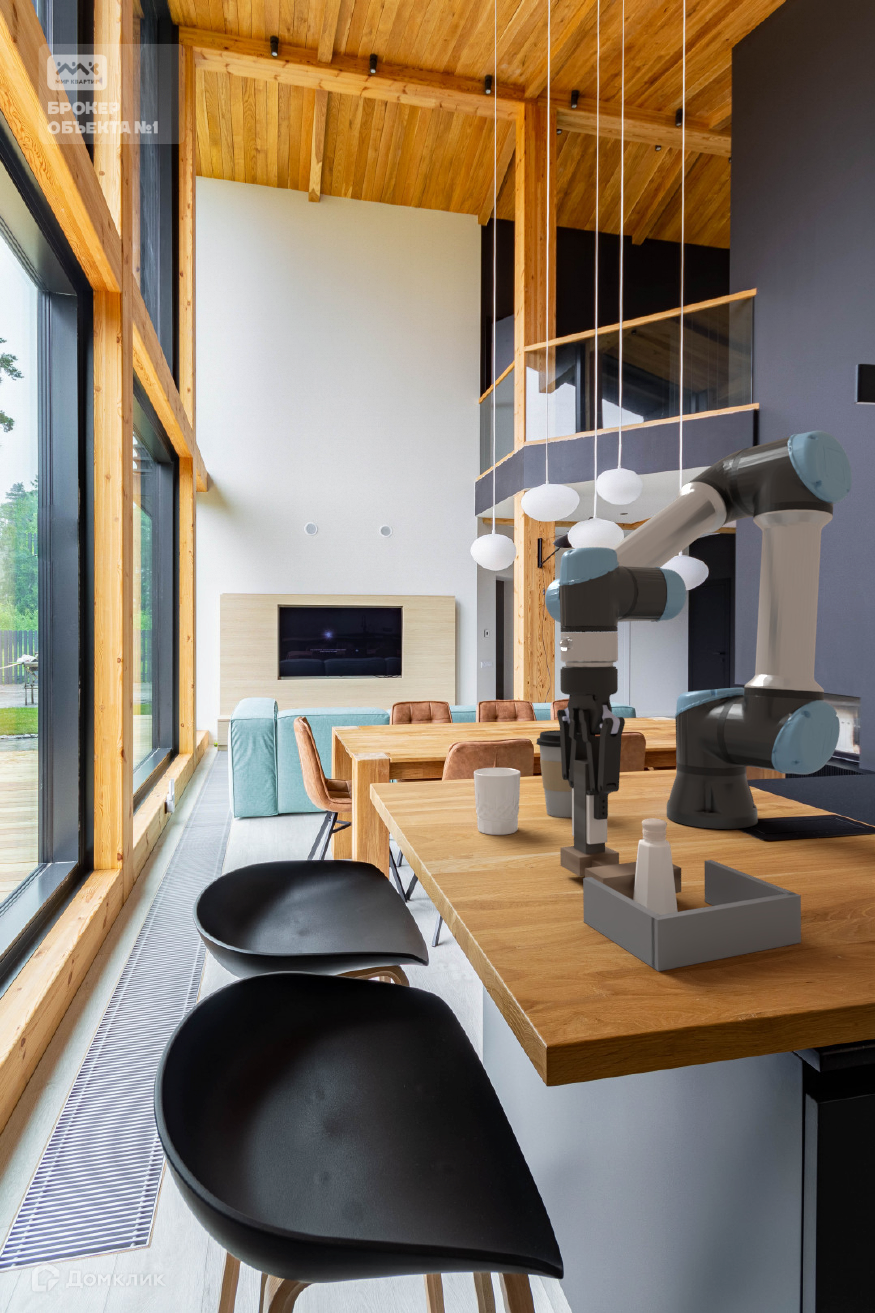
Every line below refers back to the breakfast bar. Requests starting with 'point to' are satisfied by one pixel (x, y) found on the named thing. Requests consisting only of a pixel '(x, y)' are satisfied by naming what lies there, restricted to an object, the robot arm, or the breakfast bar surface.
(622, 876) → the block post with base
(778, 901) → the box
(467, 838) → the breakfast bar surface
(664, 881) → the salt shaker
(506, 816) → the white cup
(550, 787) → the coffee cup
